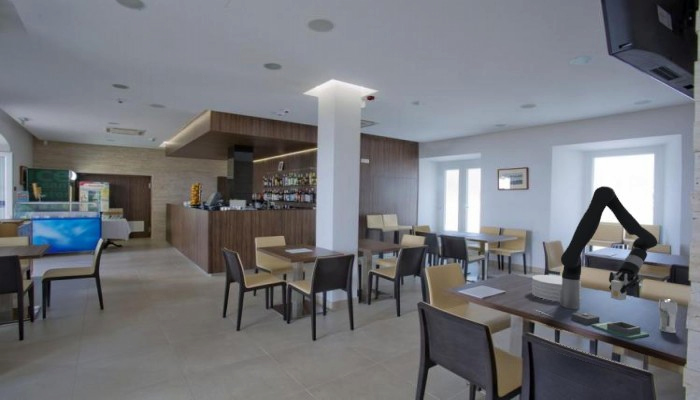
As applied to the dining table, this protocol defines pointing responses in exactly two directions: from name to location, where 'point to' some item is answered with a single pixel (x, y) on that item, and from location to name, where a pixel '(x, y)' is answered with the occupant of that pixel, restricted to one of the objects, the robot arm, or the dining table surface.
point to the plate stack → (547, 287)
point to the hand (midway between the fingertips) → (616, 291)
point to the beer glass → (667, 315)
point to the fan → (585, 318)
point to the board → (621, 329)
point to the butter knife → (543, 313)
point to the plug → (617, 290)
